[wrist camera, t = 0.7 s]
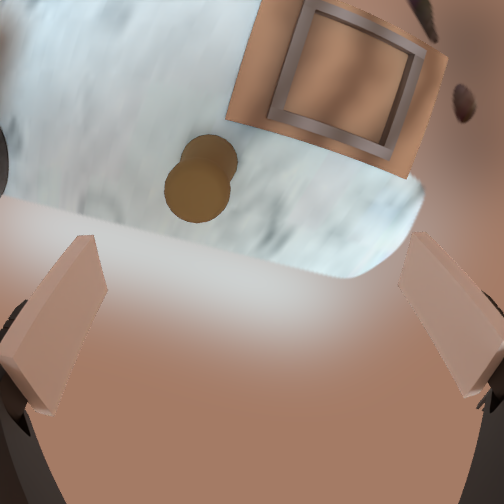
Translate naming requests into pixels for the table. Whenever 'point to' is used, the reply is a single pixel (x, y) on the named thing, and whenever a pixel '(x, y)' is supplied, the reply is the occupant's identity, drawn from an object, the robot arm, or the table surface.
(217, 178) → the brown tall rounded piece
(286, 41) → the board
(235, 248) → the table surface
